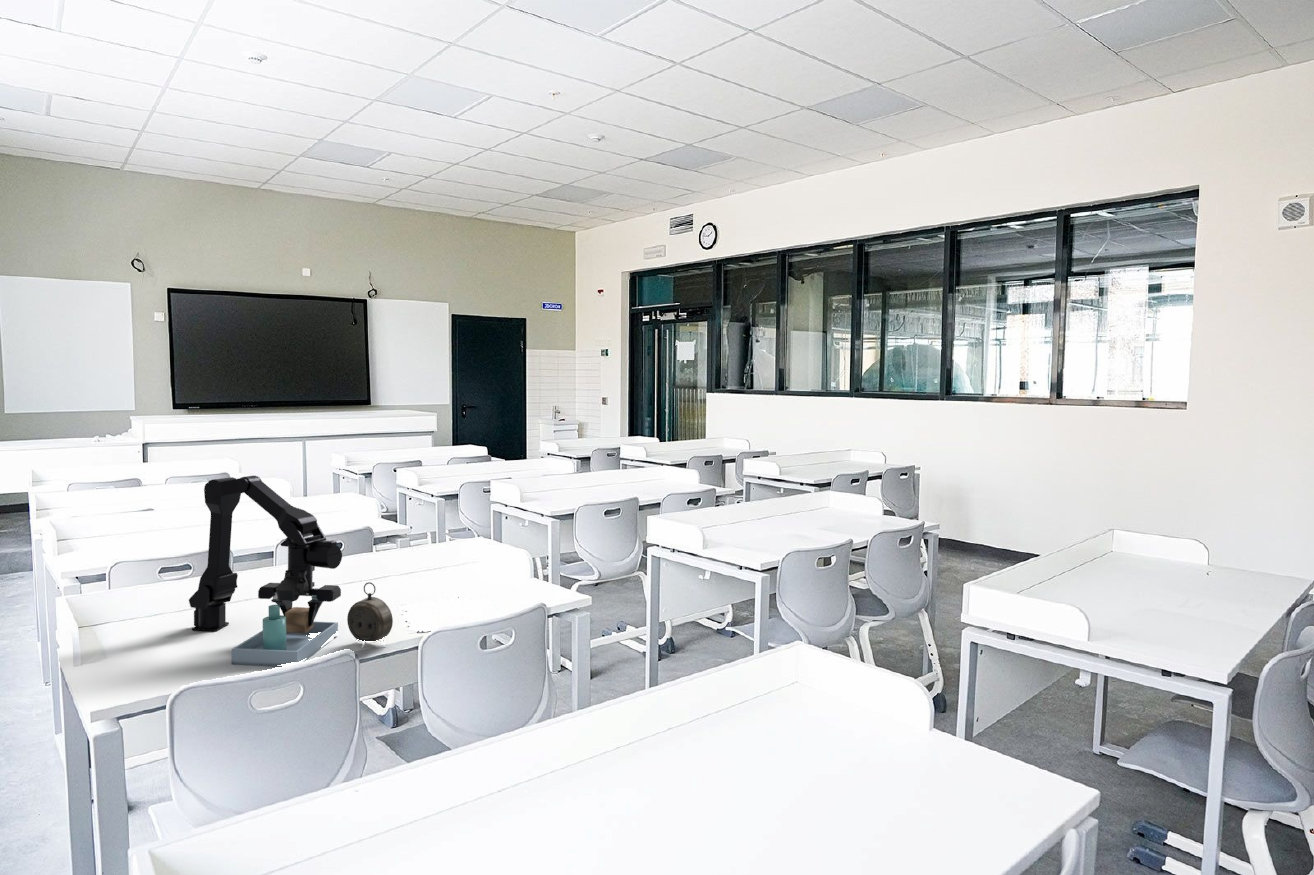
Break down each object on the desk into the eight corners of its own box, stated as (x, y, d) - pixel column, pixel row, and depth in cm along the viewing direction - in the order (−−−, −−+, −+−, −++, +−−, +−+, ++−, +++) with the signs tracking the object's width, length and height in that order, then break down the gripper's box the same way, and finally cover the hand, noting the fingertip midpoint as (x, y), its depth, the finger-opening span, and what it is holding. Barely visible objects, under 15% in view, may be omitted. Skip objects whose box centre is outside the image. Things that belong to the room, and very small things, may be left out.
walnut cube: (313, 627, 209) (313, 607, 208) (304, 633, 204) (305, 613, 203) (293, 626, 209) (294, 607, 208) (284, 632, 204) (285, 612, 203)
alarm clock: (393, 646, 206) (394, 582, 205) (379, 652, 201) (380, 587, 199) (357, 640, 209) (358, 577, 208) (343, 646, 204) (343, 582, 203)
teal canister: (283, 650, 197) (282, 601, 196) (288, 656, 193) (288, 607, 192) (261, 654, 194) (260, 605, 193) (266, 660, 190) (265, 610, 189)
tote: (337, 636, 212) (338, 622, 211) (297, 667, 188) (297, 651, 188) (279, 633, 212) (279, 620, 212) (231, 664, 189) (231, 649, 188)
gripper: (246, 570, 197) (246, 633, 198) (323, 573, 197) (322, 637, 198) (269, 560, 209) (269, 620, 210) (342, 563, 208) (341, 623, 209)
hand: (299, 625), depth 206 cm, fingers closed on walnut cube, 5 cm apart
